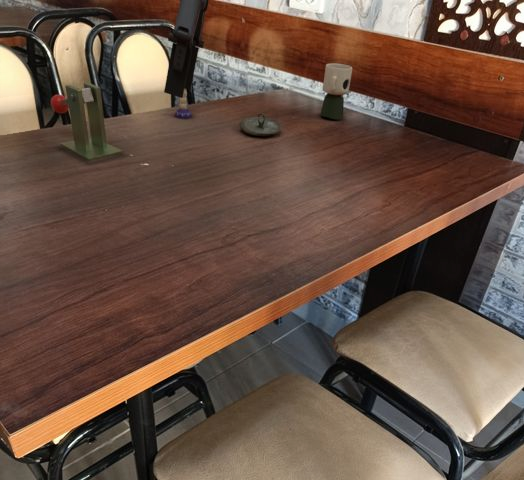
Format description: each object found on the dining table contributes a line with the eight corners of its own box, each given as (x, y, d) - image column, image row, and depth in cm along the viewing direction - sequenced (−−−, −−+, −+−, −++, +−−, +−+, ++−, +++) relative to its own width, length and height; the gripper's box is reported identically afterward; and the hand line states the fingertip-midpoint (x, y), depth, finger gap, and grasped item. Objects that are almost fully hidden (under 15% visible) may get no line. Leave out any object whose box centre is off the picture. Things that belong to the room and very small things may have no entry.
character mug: (339, 125, 137) (348, 71, 128) (314, 120, 138) (321, 67, 130) (347, 115, 145) (356, 64, 136) (323, 111, 146) (330, 60, 138)
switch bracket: (60, 148, 107) (49, 82, 99) (93, 142, 112) (85, 77, 104) (89, 164, 102) (79, 95, 94) (123, 156, 106) (116, 90, 98)
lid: (272, 132, 132) (271, 111, 130) (289, 133, 124) (288, 111, 122) (234, 136, 129) (232, 114, 126) (249, 138, 120) (247, 115, 118)
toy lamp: (196, 117, 132) (196, 44, 121) (184, 120, 129) (182, 45, 118) (183, 113, 134) (181, 40, 123) (170, 116, 131) (167, 42, 120)
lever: (51, 115, 108) (45, 97, 107) (66, 113, 110) (61, 94, 109) (82, 106, 99) (76, 85, 97) (98, 103, 101) (92, 83, 99)
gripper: (234, -82, 60) (195, 107, 70) (236, -50, 81) (206, 91, 92) (172, -106, 59) (141, 90, 69) (190, -68, 80) (165, 78, 90)
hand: (178, 91), depth 80 cm, fingers open, 13 cm apart
